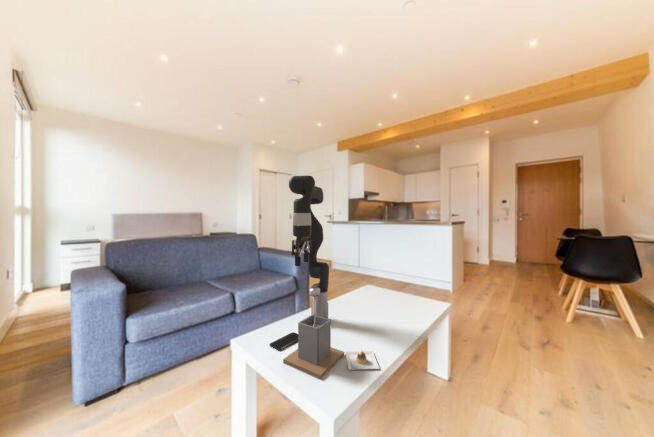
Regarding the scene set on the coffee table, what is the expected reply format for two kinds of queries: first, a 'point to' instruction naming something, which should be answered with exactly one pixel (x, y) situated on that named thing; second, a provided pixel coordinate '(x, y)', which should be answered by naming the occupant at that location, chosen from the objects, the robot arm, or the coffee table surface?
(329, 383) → the coffee table surface
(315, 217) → the robot arm
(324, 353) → the grey square holder
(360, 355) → the dessert
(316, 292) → the plunger
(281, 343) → the phone
